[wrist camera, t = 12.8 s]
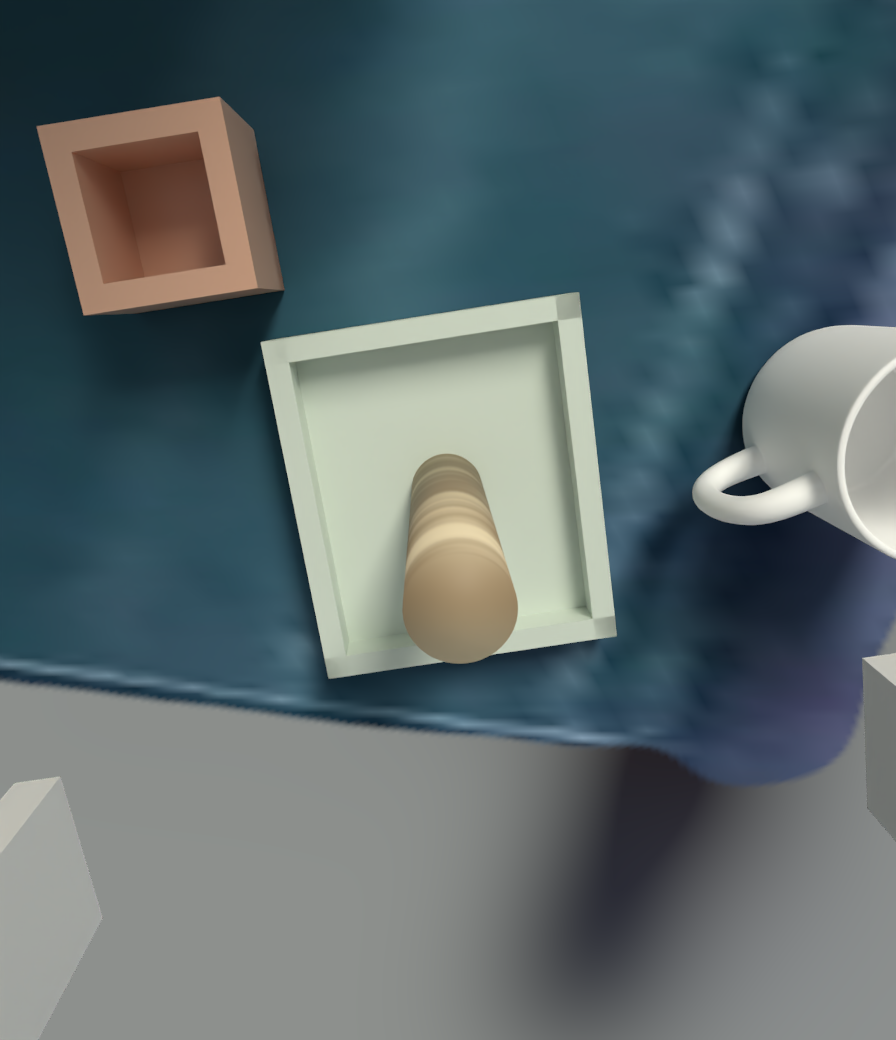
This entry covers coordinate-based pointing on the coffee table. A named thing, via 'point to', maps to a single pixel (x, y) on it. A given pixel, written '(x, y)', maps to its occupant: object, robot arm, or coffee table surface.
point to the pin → (455, 566)
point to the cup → (818, 437)
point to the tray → (443, 430)
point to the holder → (162, 207)
